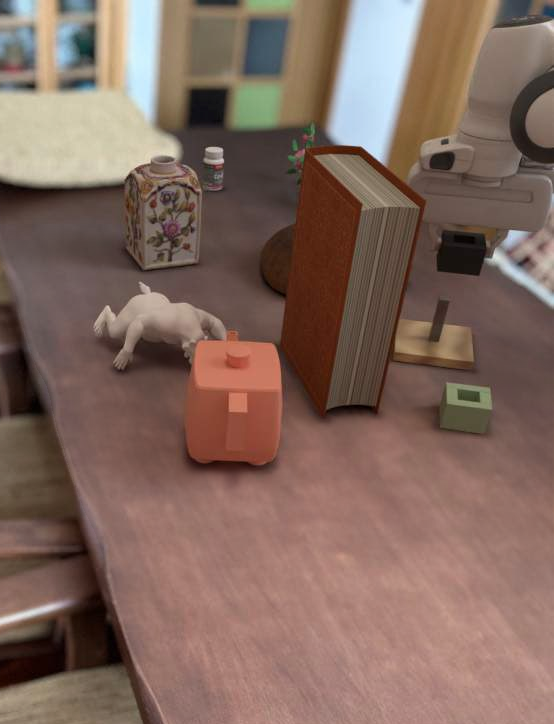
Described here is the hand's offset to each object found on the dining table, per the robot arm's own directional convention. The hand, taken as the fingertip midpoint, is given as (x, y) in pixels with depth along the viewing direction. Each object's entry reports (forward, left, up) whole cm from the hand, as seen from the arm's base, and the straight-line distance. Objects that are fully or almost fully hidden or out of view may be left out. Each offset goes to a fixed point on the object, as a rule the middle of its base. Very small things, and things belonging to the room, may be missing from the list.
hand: (460, 254), depth 121 cm
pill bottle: (+49, -68, -16) cm, 86 cm away
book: (+16, +12, -16) cm, 26 cm away
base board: (0, -2, -16) cm, 16 cm away
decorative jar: (+51, -26, -16) cm, 60 cm away
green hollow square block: (-4, +19, -16) cm, 25 cm away
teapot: (+27, +33, -17) cm, 46 cm away
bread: (+18, -26, -16) cm, 36 cm away
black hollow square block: (0, 0, -2) cm, 2 cm away
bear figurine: (+42, +10, -17) cm, 47 cm away
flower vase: (+25, -64, -16) cm, 71 cm away
